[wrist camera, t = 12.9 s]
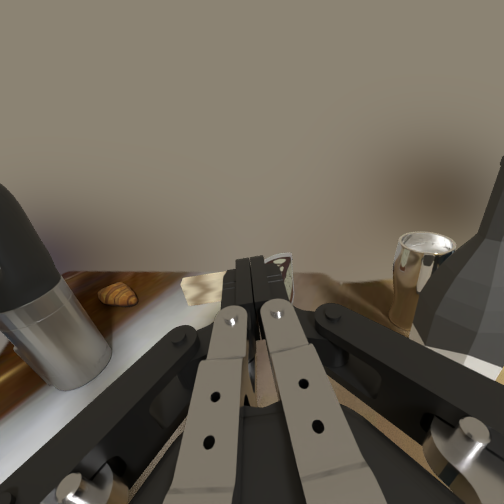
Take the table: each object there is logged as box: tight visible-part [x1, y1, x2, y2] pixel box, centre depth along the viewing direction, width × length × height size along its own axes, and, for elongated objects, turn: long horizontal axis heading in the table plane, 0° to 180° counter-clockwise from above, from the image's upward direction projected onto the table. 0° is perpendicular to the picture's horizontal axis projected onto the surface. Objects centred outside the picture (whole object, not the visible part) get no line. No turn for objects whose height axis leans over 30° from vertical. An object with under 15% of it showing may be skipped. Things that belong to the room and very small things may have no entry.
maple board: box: [181, 271, 227, 306], centre depth 51 cm, size 22×2×6 cm, turn 93°
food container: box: [264, 253, 294, 304], centre depth 45 cm, size 12×6×10 cm, turn 163°
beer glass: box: [388, 232, 456, 331], centre depth 37 cm, size 7×7×15 cm
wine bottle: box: [409, 156, 504, 381], centre depth 23 cm, size 8×8×30 cm
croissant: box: [98, 282, 138, 307], centre depth 58 cm, size 14×7×5 cm, turn 65°
